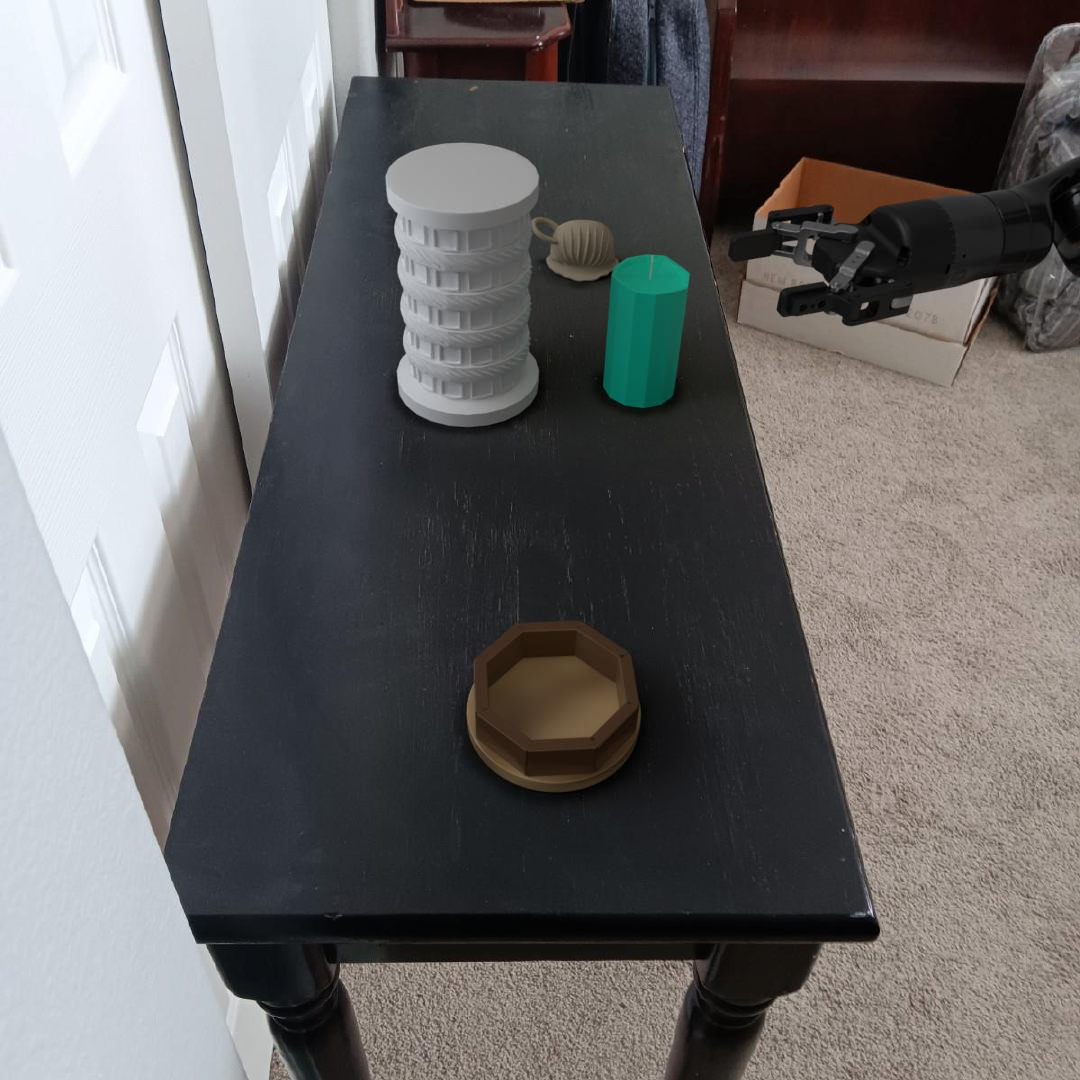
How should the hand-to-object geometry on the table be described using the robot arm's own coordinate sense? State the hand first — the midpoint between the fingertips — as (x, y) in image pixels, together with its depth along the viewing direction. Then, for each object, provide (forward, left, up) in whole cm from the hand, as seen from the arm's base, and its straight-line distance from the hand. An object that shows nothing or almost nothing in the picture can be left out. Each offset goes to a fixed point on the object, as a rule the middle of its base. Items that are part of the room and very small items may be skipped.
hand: (754, 275), depth 85 cm
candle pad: (-12, +38, -9) cm, 41 cm away
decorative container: (+15, +17, -9) cm, 25 cm away
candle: (+5, +8, -9) cm, 13 cm away
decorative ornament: (+20, -3, -9) cm, 22 cm away
